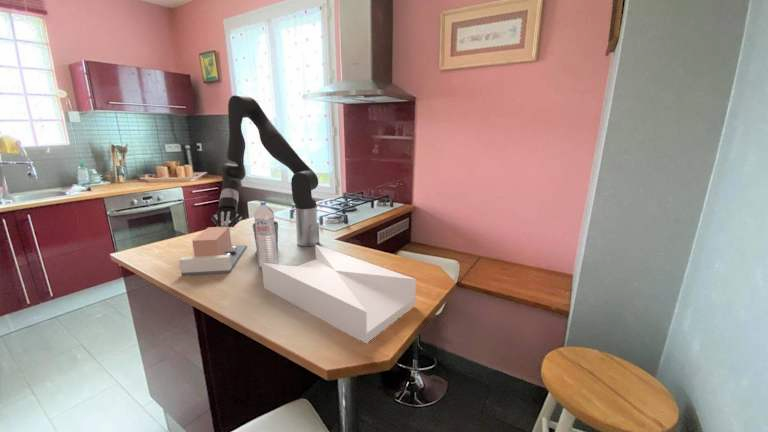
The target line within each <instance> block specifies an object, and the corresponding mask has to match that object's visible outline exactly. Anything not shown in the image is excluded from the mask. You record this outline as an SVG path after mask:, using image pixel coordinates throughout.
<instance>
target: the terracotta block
mask: <svg viewBox="0 0 768 432" xmlns="http://www.w3.org/2000/svg"><path fill="white" fill-rule="evenodd" d="M230 230H231V229H230V228H229V227H218V226H216V227H215V226H211V227H206V228H205V229H204V230H203V231H202V232H201V233H200V234H198V235H197V236H196V237H195V238H193V240H192V239H191V242H192V243H191V244H192V248H193V256H214V255H224V254H225V252H226V251H227V250H228V249H229V247H230V246H232V240H231V231H230Z"/></svg>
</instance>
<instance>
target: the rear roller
mask: <svg viewBox="0 0 768 432" xmlns="http://www.w3.org/2000/svg"><path fill="white" fill-rule="evenodd" d="M235 246H236V245H231V246H230V247H229V249H228V250H227V251H226V252H225V253H229V254H230V253H236V252H237V247H235Z"/></svg>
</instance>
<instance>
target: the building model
mask: <svg viewBox="0 0 768 432" xmlns="http://www.w3.org/2000/svg"><path fill="white" fill-rule="evenodd" d="M314 248H315V249H314V250H315V253H314V254H315V259H312V260H310V261H307V262H305V263H302V264H299V265H297V266H294V265H285V264H278V263H277V264H268V263H262V268H261V270H262V280H263V288H264V289H265V290H266V291H267V290H268V291H269V292H271V293H273V294H274V295H276V296H278V297H280V298H282V299H284V300H285V301H287V302H289V303H291V304H293V305H294V306H297V308H300V309H301V310H303V311H306V312H307V313H309V314H310V315H312V316H314V317H316V318H318V319H320V320H322V321H323V322H326V323H327V324H329V325H331V326H332V327H334V328H336V329H338V330H340V331H342V332H344V333H345V334H347V335H349V336H351V337H352V336H353V338H354V337H355V338H354V339H356V338H357V339H356V340H358V339H359V340H358V341H360V340H361V341H363V342H364V344H365V343H367V344H369V343H370V342H371V341H373V340H374V339H375V338H376V337H375V336H376V335H378V334H379V333H380V332H381V331H383V330H384V329H385V328H386V327H388V326H389V325H390V324H392V323H393V322H394V321H395V320H396V319H397V318H399V317H400V316H401V315H403V314H404V313H405V312H406V311H408V310H409V309H410V308H411V307H413V306H414V305H415V306H416V293H417V292H416V291H417V279H416V278H414V277H410V276H408V275H405V274H401V273H399V272H396V271H393V270H390V269H387V268H384V267H381V266H378V265H375V264H373V263H370V262H367V261H365V260H361V259H358V258H356V257H353V256H349V255H347V254H344V253H341V252H339V251H335V250H332V249H329V248H327V247H324V246H321V245H318V244H315V245H314ZM393 324H394V323H393ZM393 324H392V325H393ZM389 327H390V326H389ZM389 327H388V328H389ZM384 331H385V330H384ZM384 331H383V332H384ZM380 334H381V333H380ZM380 334H379V335H380ZM379 335H378V336H379ZM374 337H375V338H374ZM373 338H374V339H373ZM372 339H373V340H372ZM370 340H371V341H370ZM361 341H360V342H361ZM369 341H370V342H369ZM363 342H362V343H363ZM368 342H369V343H368Z"/></svg>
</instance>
